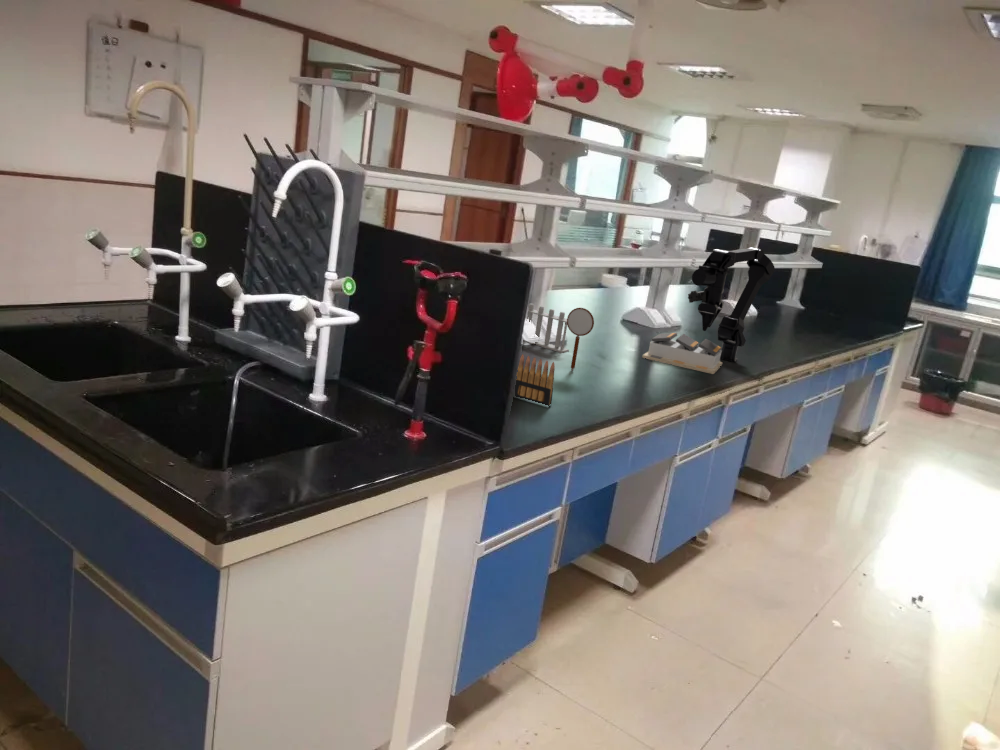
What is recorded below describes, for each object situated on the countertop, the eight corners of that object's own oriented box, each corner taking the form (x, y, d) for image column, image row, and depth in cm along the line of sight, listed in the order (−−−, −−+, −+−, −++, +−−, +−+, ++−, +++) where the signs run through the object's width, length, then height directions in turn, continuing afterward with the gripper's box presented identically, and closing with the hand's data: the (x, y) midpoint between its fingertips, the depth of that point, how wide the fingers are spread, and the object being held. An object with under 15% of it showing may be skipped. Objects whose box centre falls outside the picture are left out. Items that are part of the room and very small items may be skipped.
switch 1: (659, 336, 274) (659, 333, 274) (677, 335, 271) (677, 332, 271) (651, 341, 264) (651, 337, 263) (670, 340, 261) (669, 337, 261)
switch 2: (704, 341, 268) (706, 338, 267) (720, 350, 266) (722, 347, 265) (698, 346, 257) (699, 343, 257) (714, 355, 255) (716, 352, 255)
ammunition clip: (511, 397, 196) (517, 353, 193) (514, 396, 198) (521, 352, 194) (548, 408, 192) (555, 363, 188) (551, 406, 193) (558, 362, 190)
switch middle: (682, 336, 271) (684, 333, 270) (697, 345, 269) (699, 342, 268) (675, 341, 260) (677, 338, 260) (691, 350, 258) (693, 347, 258)
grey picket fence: (504, 335, 267) (509, 299, 264) (512, 334, 271) (517, 298, 267) (561, 353, 253) (567, 315, 249) (568, 351, 256) (574, 314, 253)
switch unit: (654, 349, 278) (657, 334, 276) (722, 364, 269) (725, 348, 267) (642, 357, 262) (645, 341, 260) (713, 374, 253) (717, 357, 251)
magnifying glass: (586, 373, 230) (597, 310, 225) (584, 374, 229) (595, 311, 223) (560, 367, 234) (570, 304, 228) (558, 368, 232) (568, 305, 227)
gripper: (697, 279, 273) (688, 321, 278) (687, 284, 257) (678, 328, 261) (727, 285, 269) (718, 327, 274) (720, 290, 253) (710, 334, 257)
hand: (706, 328), depth 266 cm, fingers open, 9 cm apart
